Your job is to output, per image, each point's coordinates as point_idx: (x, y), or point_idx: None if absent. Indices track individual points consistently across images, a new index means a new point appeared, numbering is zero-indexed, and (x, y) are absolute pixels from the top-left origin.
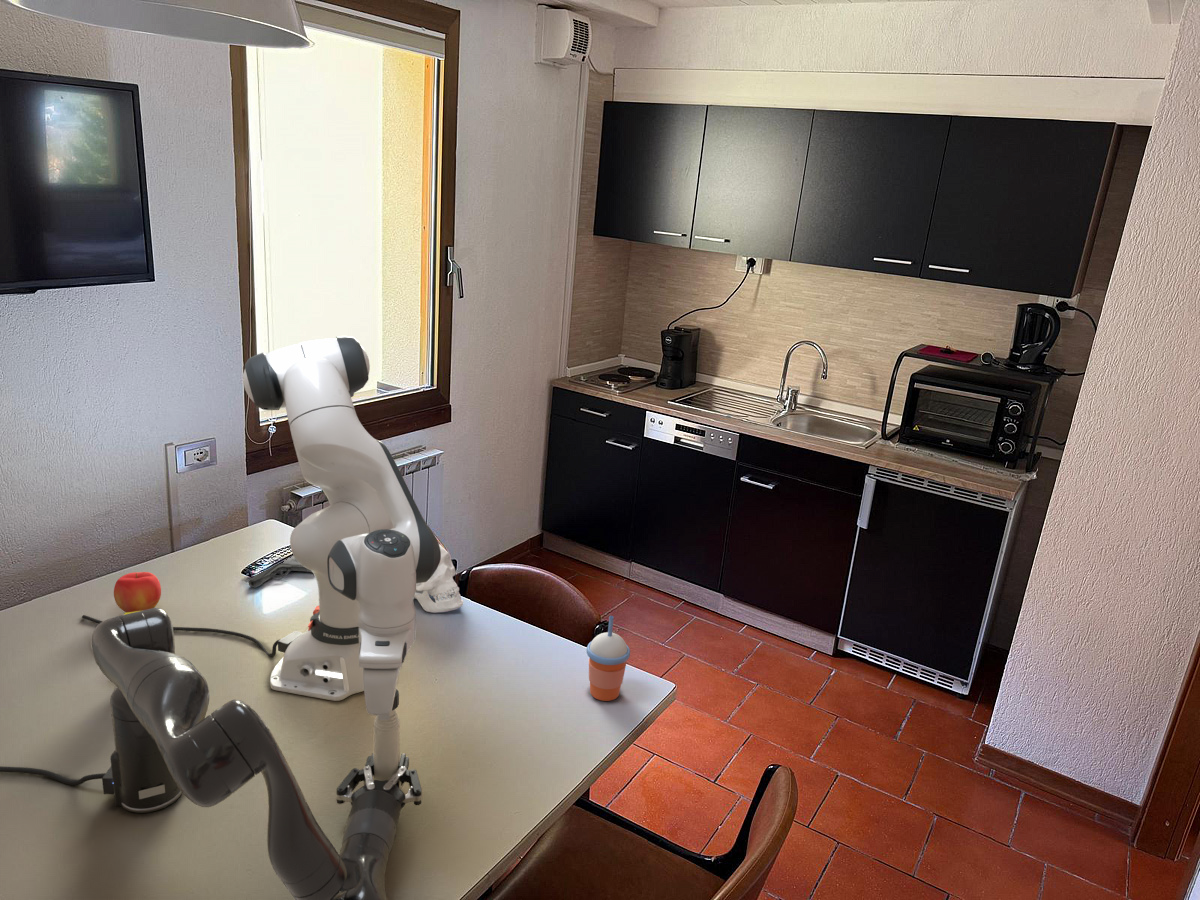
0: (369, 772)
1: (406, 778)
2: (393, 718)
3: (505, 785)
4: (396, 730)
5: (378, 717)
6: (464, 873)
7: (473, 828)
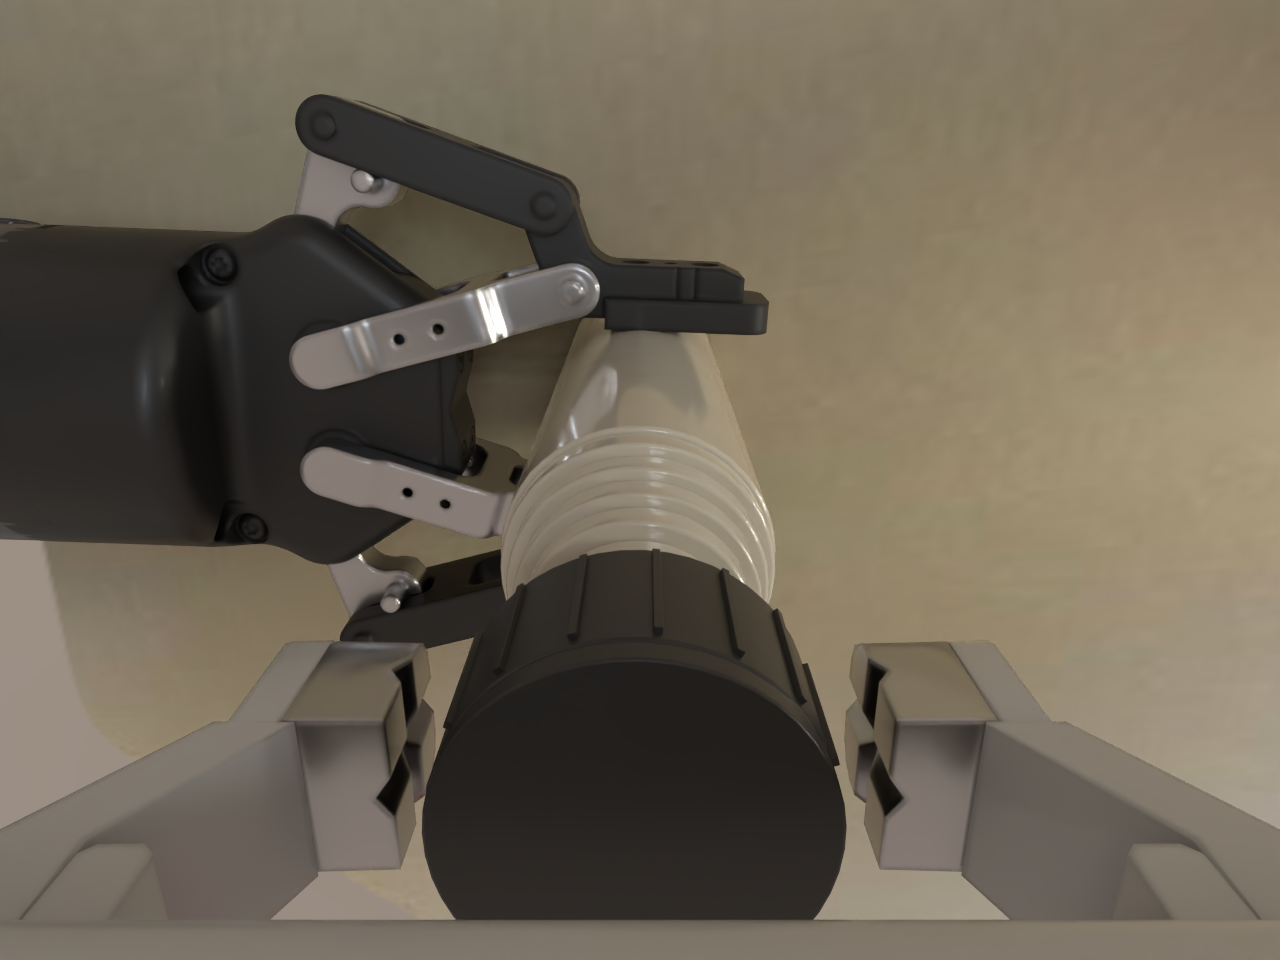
0: (525, 316)
1: None
2: None
3: None
4: None
5: (282, 649)
6: (175, 731)
7: None
